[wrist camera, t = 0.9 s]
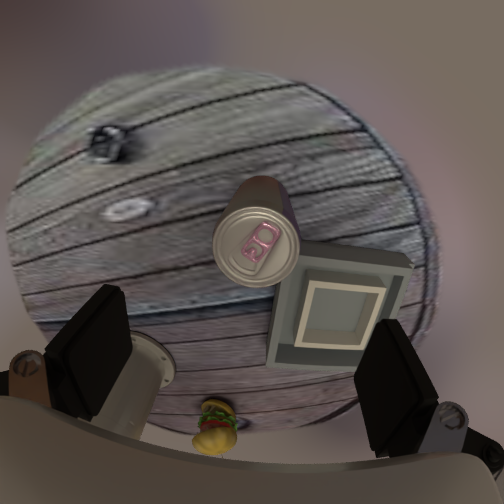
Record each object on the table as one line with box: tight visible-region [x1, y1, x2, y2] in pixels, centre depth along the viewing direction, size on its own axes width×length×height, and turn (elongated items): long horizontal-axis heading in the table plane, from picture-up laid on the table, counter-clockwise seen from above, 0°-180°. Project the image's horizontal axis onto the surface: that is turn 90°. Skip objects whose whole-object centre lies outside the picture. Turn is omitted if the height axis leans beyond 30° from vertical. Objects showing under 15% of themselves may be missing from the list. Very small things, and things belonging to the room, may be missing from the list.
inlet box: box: [266, 240, 415, 372], centre depth 34 cm, size 16×16×5 cm
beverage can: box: [212, 176, 301, 288], centre depth 25 cm, size 6×6×15 cm
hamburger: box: [192, 399, 238, 458], centre depth 40 cm, size 8×7×12 cm
